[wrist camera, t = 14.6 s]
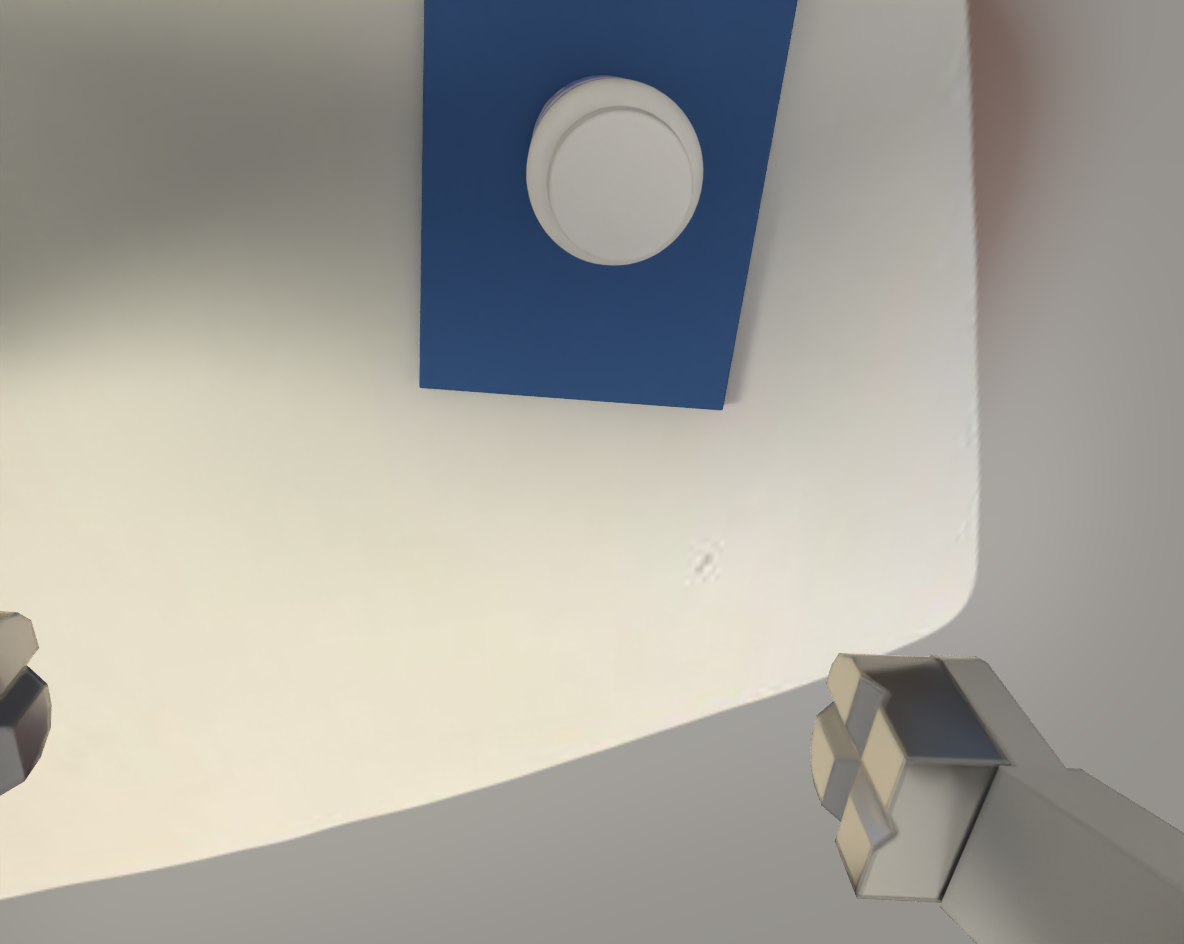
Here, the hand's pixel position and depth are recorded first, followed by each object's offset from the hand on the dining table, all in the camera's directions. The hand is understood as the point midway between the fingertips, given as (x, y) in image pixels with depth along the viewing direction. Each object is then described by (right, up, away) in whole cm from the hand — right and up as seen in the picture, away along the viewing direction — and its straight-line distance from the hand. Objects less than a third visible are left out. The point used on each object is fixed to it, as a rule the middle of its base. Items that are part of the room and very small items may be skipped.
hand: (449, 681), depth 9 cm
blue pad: (+2, +15, +23) cm, 27 cm away
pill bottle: (+2, +14, +23) cm, 27 cm away
